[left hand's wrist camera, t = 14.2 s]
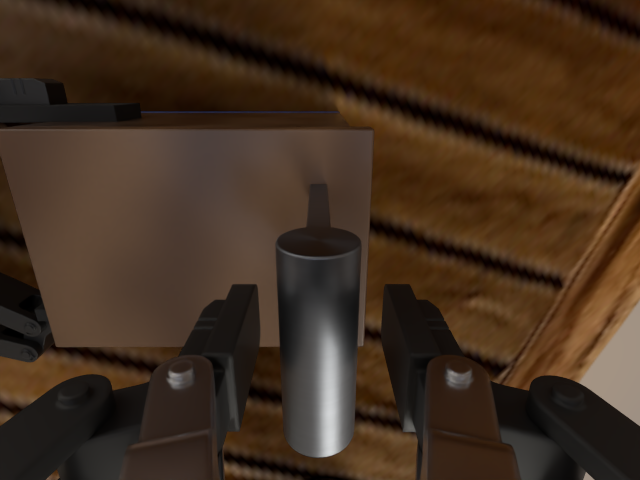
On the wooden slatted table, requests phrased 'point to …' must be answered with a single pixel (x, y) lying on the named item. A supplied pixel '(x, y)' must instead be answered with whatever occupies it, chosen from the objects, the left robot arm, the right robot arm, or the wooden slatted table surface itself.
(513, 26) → the wooden slatted table surface
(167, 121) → the chest
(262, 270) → the lid
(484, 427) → the left robot arm
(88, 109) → the right robot arm
